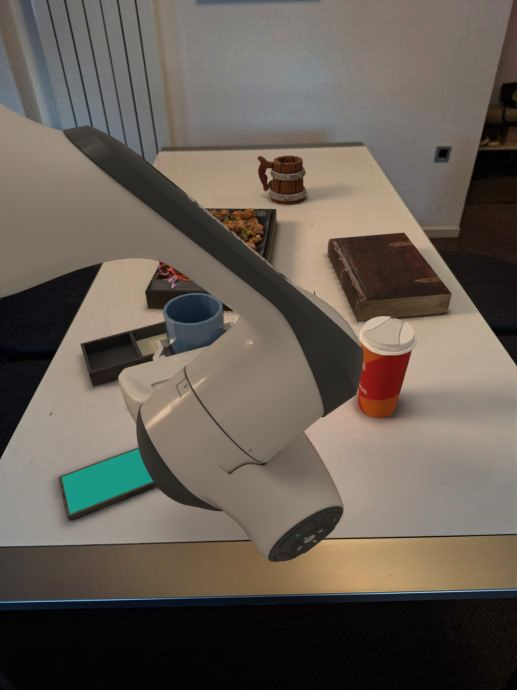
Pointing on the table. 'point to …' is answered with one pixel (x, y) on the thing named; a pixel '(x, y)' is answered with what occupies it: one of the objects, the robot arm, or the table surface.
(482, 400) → the table surface
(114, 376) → the tray
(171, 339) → the blue cup
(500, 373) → the table surface
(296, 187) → the mug
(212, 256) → the robot arm
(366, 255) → the hardback book
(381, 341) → the coffee cup
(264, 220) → the food platter
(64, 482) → the smartphone
